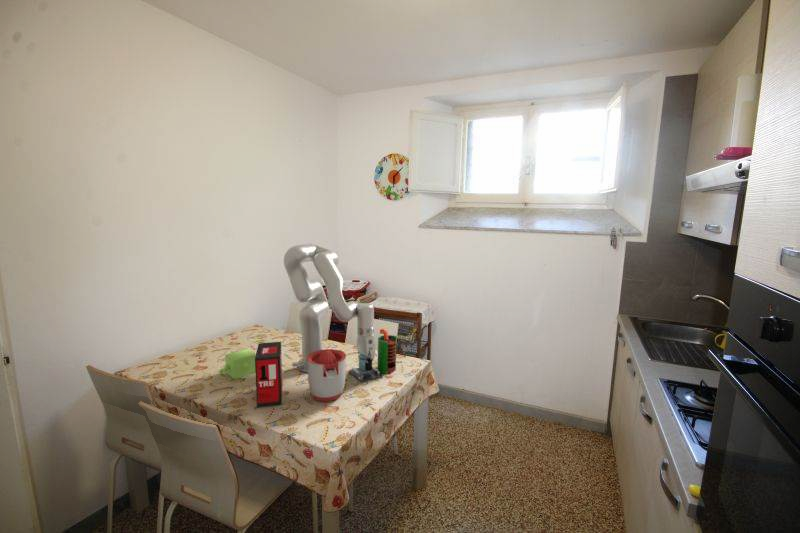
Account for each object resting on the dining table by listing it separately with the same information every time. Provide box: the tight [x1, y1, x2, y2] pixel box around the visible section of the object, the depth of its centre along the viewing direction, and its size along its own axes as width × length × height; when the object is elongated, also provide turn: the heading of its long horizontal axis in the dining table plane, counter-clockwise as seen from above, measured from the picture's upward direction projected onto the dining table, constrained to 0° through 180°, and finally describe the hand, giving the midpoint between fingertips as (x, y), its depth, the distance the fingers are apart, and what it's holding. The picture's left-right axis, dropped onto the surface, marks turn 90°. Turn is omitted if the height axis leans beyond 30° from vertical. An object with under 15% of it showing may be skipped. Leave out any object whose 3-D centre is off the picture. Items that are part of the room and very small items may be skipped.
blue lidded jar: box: [358, 353, 371, 372], centre depth 168 cm, size 6×6×7 cm
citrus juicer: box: [307, 348, 347, 402], centre depth 147 cm, size 16×17×20 cm
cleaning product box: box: [254, 341, 283, 409], centre depth 146 cm, size 16×9×20 cm, turn 17°
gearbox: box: [219, 348, 256, 380], centre depth 167 cm, size 18×10×10 cm, turn 137°
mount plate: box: [348, 365, 384, 384], centre depth 168 cm, size 11×13×2 cm
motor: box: [376, 328, 398, 375], centre depth 173 cm, size 10×9×20 cm
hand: (365, 367), depth 168 cm, fingers closed on blue lidded jar, 5 cm apart
